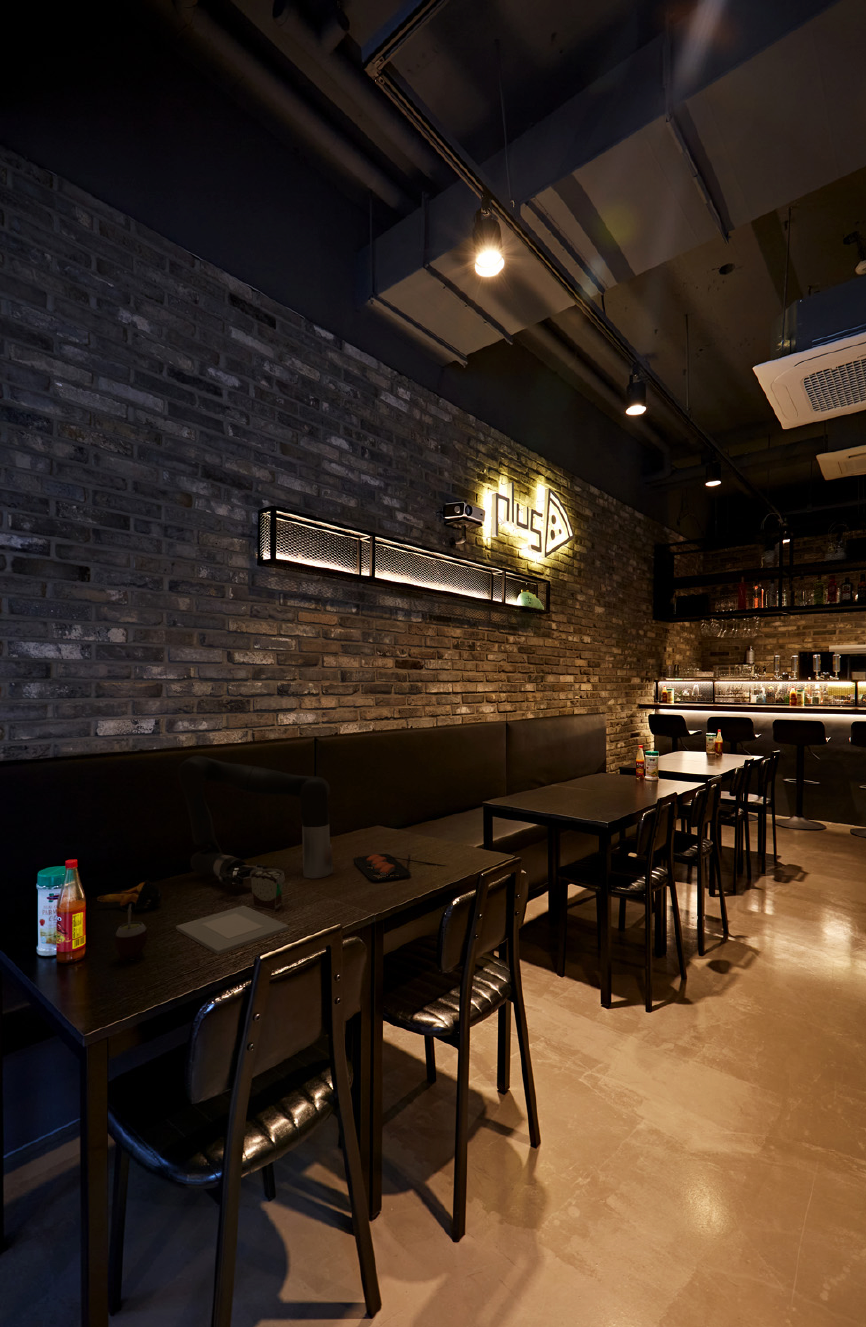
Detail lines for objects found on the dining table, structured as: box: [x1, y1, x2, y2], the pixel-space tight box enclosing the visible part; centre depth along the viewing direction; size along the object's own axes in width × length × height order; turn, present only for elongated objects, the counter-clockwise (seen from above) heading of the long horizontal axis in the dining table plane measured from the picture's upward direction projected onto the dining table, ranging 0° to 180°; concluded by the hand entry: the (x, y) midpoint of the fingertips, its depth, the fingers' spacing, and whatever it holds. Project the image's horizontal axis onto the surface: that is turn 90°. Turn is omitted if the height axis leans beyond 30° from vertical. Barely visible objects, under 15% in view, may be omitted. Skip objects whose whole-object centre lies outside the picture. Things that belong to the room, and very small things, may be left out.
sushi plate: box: [352, 853, 447, 882], centre depth 217 cm, size 29×30×4 cm
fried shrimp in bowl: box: [96, 879, 163, 912], centre depth 182 cm, size 9×11×18 cm
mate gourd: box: [114, 904, 148, 965], centre depth 148 cm, size 8×8×15 cm
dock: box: [175, 904, 290, 956], centre depth 164 cm, size 20×24×1 cm
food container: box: [249, 868, 286, 912], centre depth 182 cm, size 12×6×10 cm, turn 58°
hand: (255, 878), depth 189 cm, fingers open, 8 cm apart
